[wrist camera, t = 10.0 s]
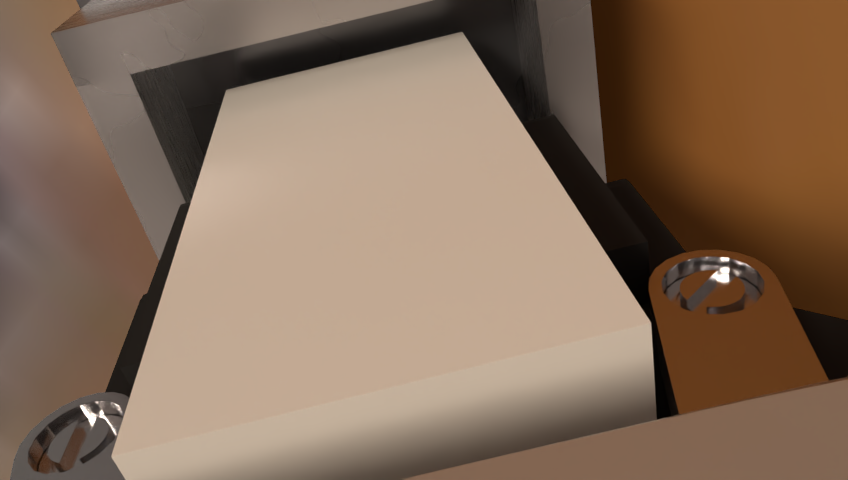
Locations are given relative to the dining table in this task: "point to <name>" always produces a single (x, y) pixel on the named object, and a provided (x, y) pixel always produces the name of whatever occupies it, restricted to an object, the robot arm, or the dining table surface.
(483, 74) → the cream block teal pad
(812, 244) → the dining table surface
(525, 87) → the rail
